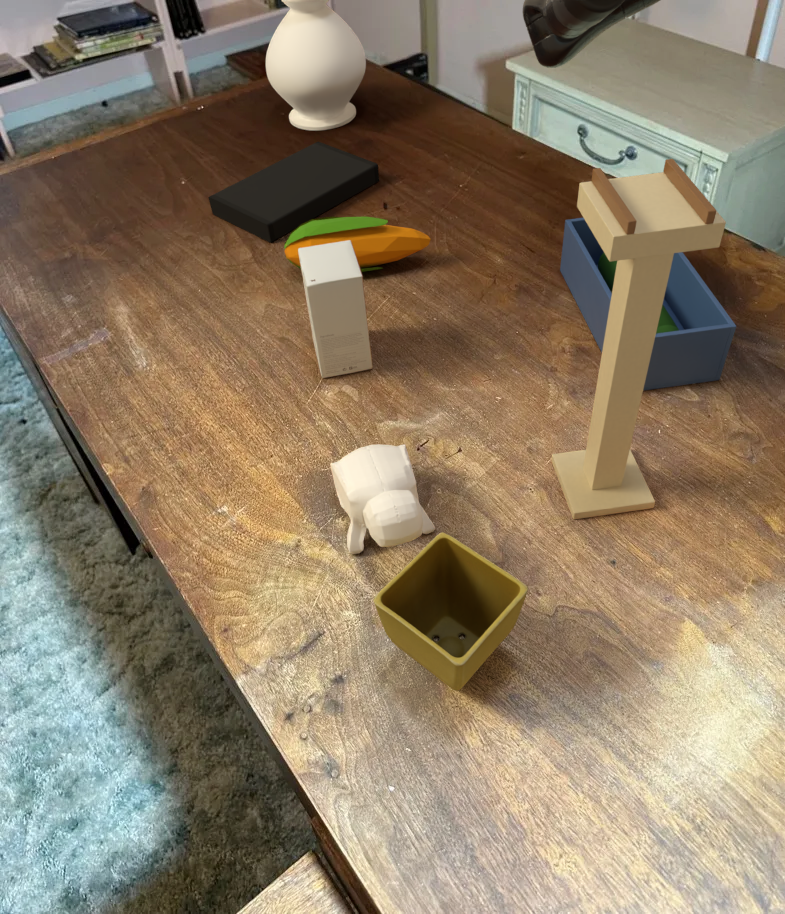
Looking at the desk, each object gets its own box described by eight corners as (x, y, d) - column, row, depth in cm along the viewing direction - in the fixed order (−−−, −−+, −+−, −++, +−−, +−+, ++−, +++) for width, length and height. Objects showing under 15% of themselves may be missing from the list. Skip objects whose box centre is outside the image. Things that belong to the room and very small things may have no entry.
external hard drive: (212, 214, 120) (208, 196, 118) (319, 158, 131) (317, 140, 128) (271, 243, 113) (267, 224, 110) (379, 181, 123) (378, 163, 121)
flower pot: (524, 646, 65) (531, 586, 58) (460, 722, 61) (460, 666, 54) (444, 590, 69) (442, 529, 63) (379, 658, 65) (369, 599, 59)
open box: (641, 259, 103) (651, 208, 98) (719, 380, 86) (736, 326, 80) (559, 270, 103) (565, 219, 97) (622, 393, 85) (632, 340, 80)
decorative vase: (335, 144, 134) (314, -18, 116) (256, 127, 141) (225, -28, 123) (388, 104, 144) (377, -50, 126) (311, 90, 151) (291, -58, 133)
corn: (281, 208, 104) (427, 196, 103) (290, 255, 110) (429, 244, 109) (277, 240, 99) (431, 228, 99) (288, 287, 105) (433, 276, 104)
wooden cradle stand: (623, 443, 80) (684, 156, 58) (653, 508, 74) (736, 216, 52) (548, 453, 80) (580, 169, 57) (572, 519, 74) (620, 231, 51)
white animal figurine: (334, 514, 80) (363, 591, 67) (317, 441, 76) (344, 508, 63) (412, 493, 81) (456, 564, 68) (398, 420, 78) (442, 481, 64)
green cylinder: (590, 271, 101) (597, 241, 98) (622, 269, 101) (630, 239, 98) (644, 369, 87) (655, 338, 84) (681, 367, 87) (693, 335, 84)
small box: (373, 369, 91) (363, 276, 82) (321, 379, 91) (305, 286, 81) (362, 329, 97) (351, 238, 87) (312, 338, 96) (296, 247, 87)
